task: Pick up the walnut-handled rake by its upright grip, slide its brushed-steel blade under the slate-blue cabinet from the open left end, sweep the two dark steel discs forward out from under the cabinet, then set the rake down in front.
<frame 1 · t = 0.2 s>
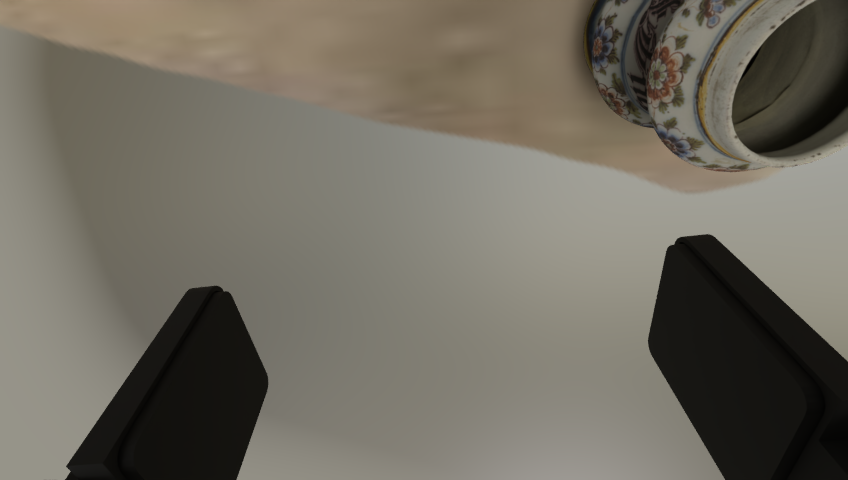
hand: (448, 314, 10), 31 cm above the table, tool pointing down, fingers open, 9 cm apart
apothecary jar: (645, 28, 35), on the table
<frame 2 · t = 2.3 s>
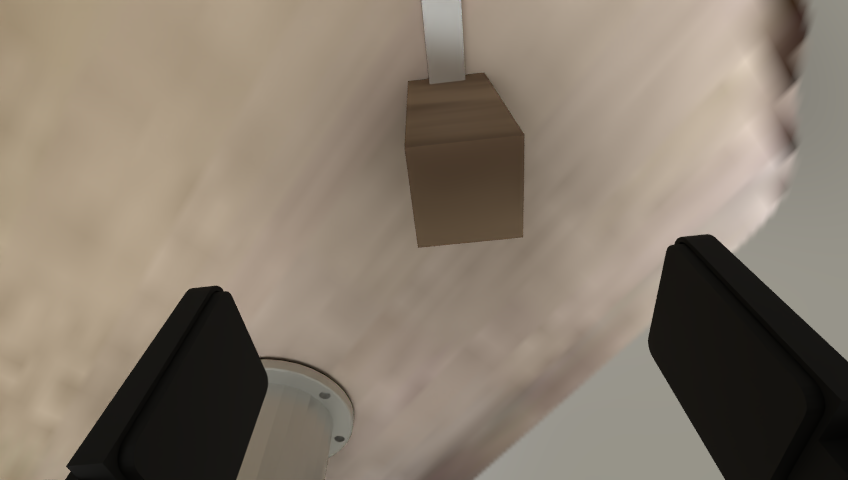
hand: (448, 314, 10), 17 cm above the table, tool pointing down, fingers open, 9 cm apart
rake: (448, 114, 24), on the table
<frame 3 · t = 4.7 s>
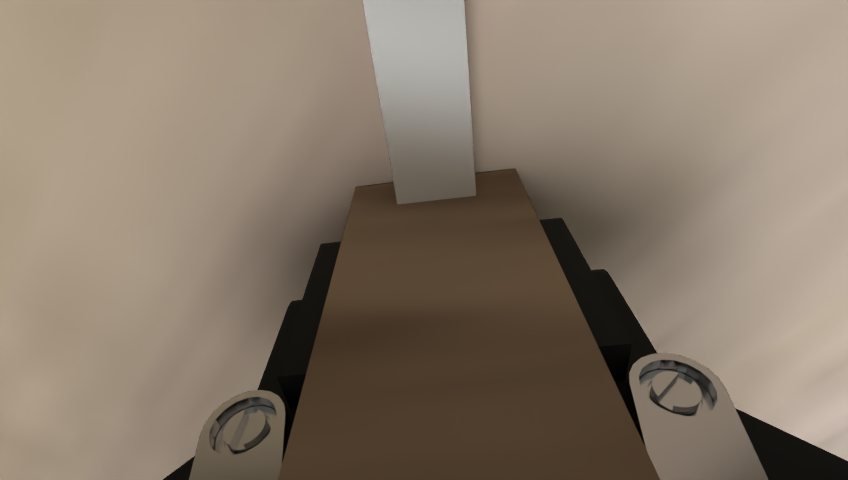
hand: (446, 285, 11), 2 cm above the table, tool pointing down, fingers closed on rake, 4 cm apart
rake: (442, 244, 12), on the table, touching gripper
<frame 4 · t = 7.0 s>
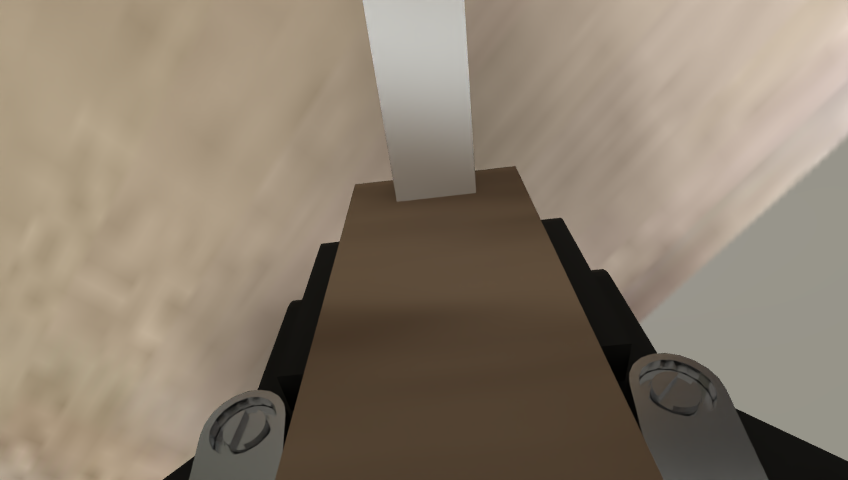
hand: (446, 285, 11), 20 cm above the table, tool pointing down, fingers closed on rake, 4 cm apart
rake: (442, 242, 12), point 18 cm above the table, touching gripper
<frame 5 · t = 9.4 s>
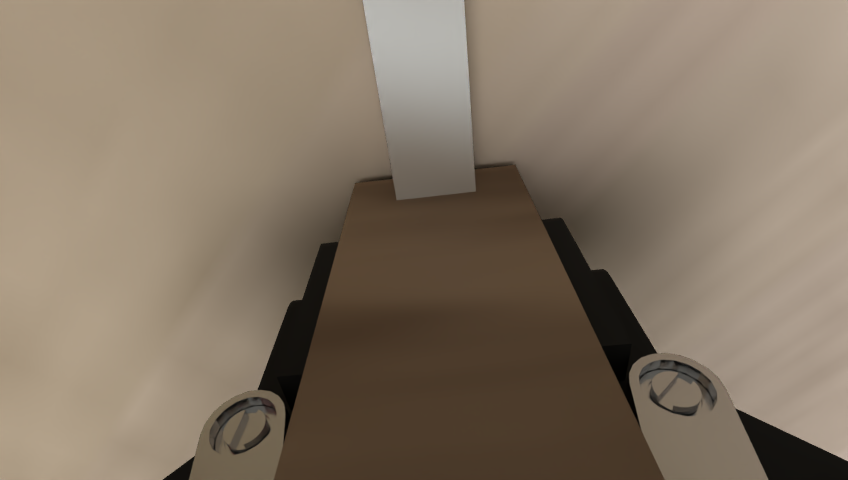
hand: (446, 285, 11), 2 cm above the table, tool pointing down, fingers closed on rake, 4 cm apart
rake: (442, 241, 12), on the table, touching gripper
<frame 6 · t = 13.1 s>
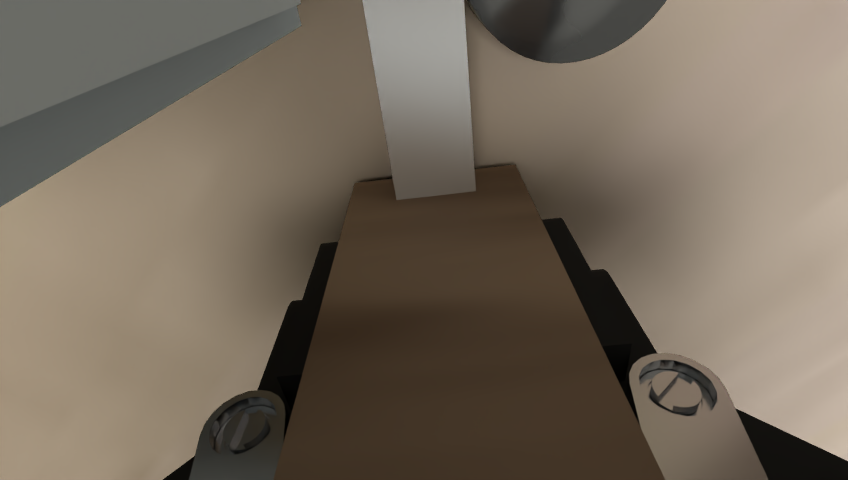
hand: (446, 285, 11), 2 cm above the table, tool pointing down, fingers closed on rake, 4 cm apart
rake: (442, 241, 12), on the table, touching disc, gripper
when the fingers open (2 cm above the table, at t = 14.2 s): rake stays where it is, on the table.
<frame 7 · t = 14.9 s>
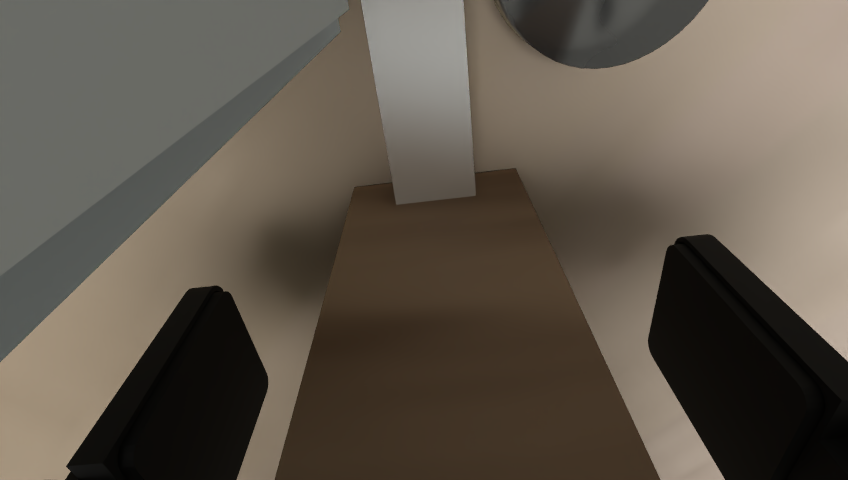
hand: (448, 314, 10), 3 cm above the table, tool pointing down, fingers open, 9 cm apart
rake: (442, 245, 12), on the table
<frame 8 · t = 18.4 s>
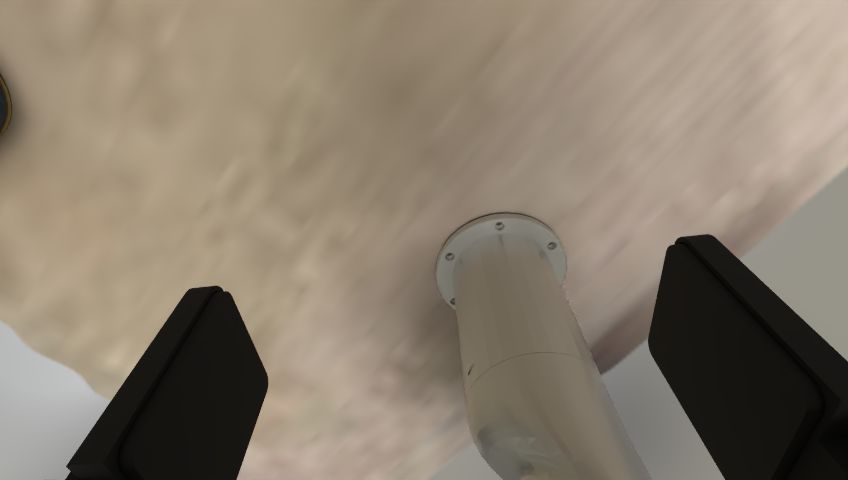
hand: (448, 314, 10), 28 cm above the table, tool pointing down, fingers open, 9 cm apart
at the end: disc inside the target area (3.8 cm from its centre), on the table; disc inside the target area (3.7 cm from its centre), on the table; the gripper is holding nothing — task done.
